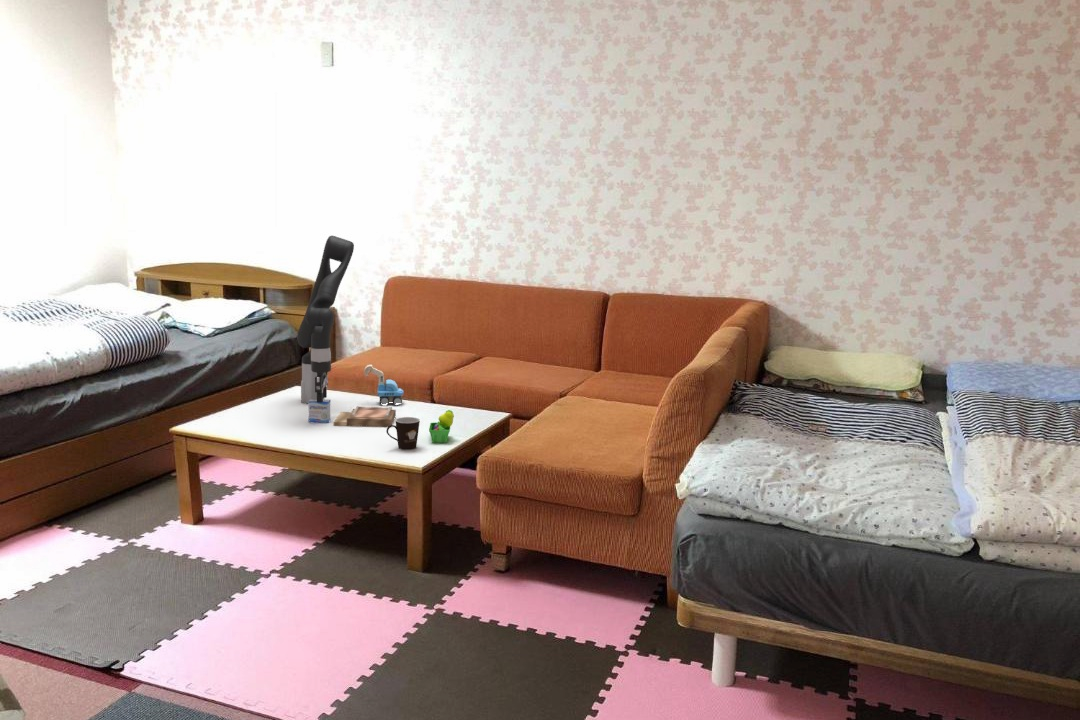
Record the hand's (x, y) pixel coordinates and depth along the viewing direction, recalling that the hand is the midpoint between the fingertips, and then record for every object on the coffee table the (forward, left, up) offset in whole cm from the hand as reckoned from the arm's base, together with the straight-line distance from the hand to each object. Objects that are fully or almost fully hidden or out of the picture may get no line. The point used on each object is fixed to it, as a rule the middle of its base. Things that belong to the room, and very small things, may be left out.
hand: (321, 400), depth 330 cm
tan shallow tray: (+17, +2, -9) cm, 19 cm away
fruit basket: (+48, -22, -9) cm, 54 cm away
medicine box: (-1, 0, -9) cm, 9 cm away
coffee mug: (+35, -33, -9) cm, 49 cm away
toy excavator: (+20, +32, -9) cm, 39 cm away
